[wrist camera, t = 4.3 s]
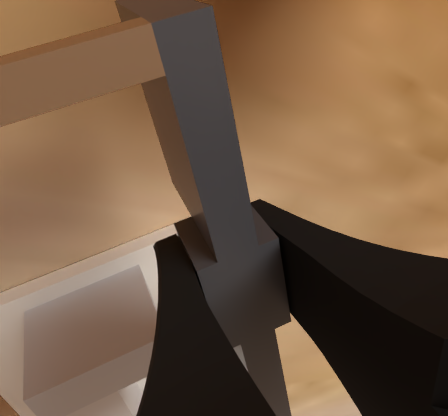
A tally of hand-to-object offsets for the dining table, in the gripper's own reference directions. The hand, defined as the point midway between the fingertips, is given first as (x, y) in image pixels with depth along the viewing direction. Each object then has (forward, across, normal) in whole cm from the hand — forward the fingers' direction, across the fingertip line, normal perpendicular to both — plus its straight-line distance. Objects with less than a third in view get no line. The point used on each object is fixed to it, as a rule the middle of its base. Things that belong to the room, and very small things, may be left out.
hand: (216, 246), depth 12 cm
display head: (+9, +4, +13) cm, 17 cm away
